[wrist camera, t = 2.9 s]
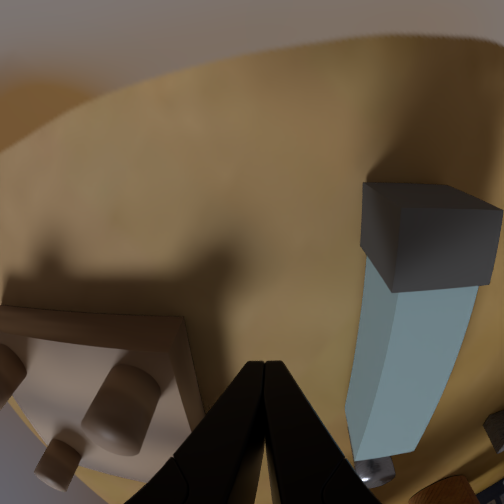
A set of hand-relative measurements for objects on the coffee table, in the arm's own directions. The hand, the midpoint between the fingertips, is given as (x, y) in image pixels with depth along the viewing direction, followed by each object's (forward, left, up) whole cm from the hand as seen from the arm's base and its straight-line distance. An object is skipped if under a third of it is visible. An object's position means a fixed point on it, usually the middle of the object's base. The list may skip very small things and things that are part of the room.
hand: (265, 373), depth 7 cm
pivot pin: (-10, -5, -6) cm, 13 cm away
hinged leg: (-2, -5, -5) cm, 8 cm away
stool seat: (-8, +10, -6) cm, 14 cm away
